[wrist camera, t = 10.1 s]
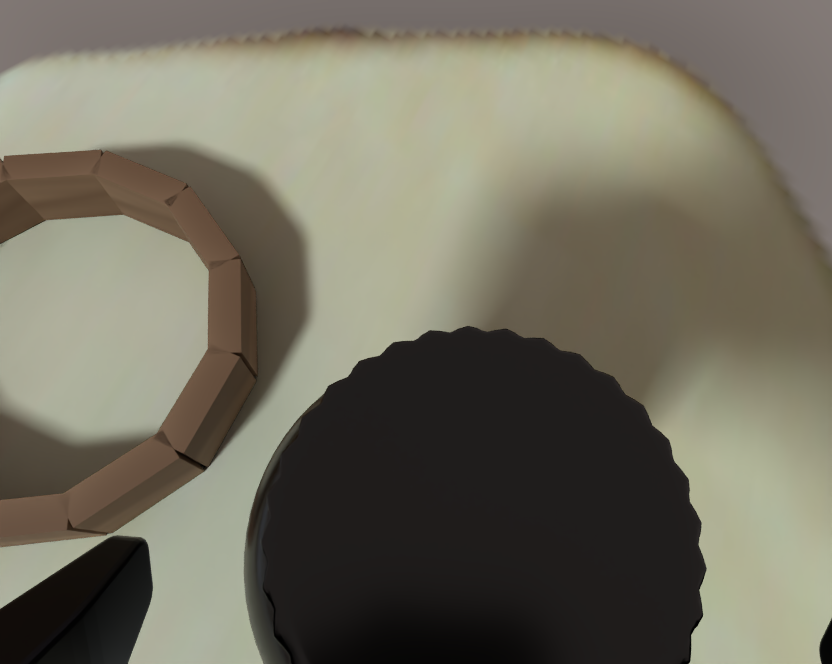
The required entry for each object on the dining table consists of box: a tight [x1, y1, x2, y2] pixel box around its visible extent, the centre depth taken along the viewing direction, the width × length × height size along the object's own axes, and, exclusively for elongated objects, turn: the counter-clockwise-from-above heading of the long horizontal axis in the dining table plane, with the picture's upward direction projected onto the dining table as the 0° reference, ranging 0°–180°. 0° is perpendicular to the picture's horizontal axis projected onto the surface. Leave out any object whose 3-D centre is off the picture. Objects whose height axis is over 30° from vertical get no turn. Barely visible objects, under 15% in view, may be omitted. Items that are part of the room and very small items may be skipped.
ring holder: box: [0, 150, 258, 547], centre depth 20 cm, size 13×13×2 cm
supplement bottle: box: [244, 326, 707, 664], centre depth 12 cm, size 7×7×12 cm
